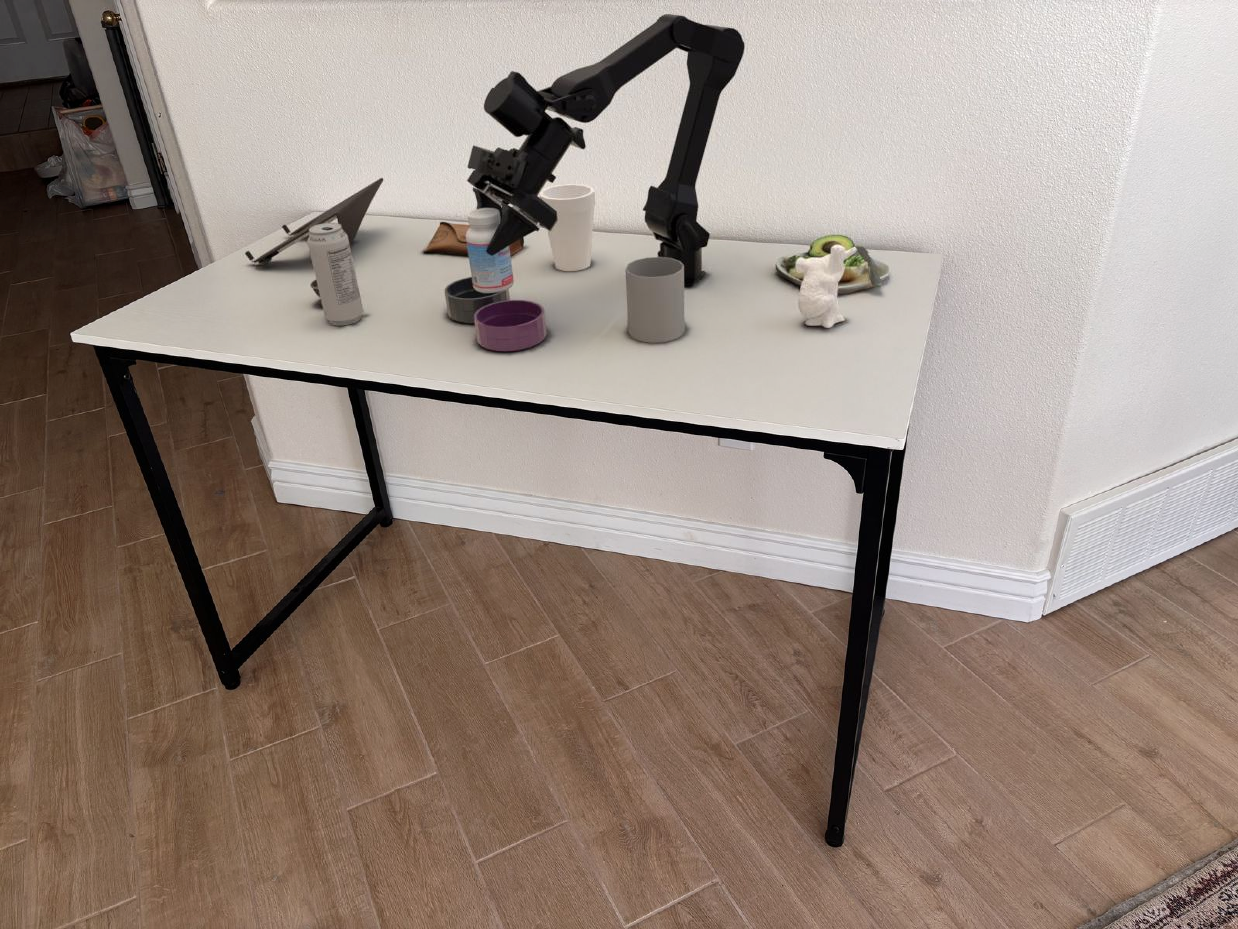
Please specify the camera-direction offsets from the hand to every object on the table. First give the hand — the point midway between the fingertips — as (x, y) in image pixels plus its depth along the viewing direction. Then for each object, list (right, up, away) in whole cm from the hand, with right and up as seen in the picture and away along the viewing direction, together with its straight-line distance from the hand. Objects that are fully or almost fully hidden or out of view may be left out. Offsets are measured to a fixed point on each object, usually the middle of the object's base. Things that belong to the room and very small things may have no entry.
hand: (479, 248), depth 134 cm
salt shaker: (-28, -4, +21) cm, 35 cm away
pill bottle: (+2, -5, +4) cm, 7 cm away
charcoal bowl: (-2, -7, +14) cm, 16 cm away
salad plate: (+56, 0, +20) cm, 59 cm away
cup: (+26, -12, +4) cm, 29 cm away
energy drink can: (-24, -8, +14) cm, 29 cm away
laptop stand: (-38, +10, +44) cm, 59 cm away
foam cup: (+12, +4, +31) cm, 33 cm away
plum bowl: (+4, -12, +5) cm, 14 cm away
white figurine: (+51, -11, +4) cm, 52 cm away
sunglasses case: (-7, +9, +40) cm, 42 cm away
